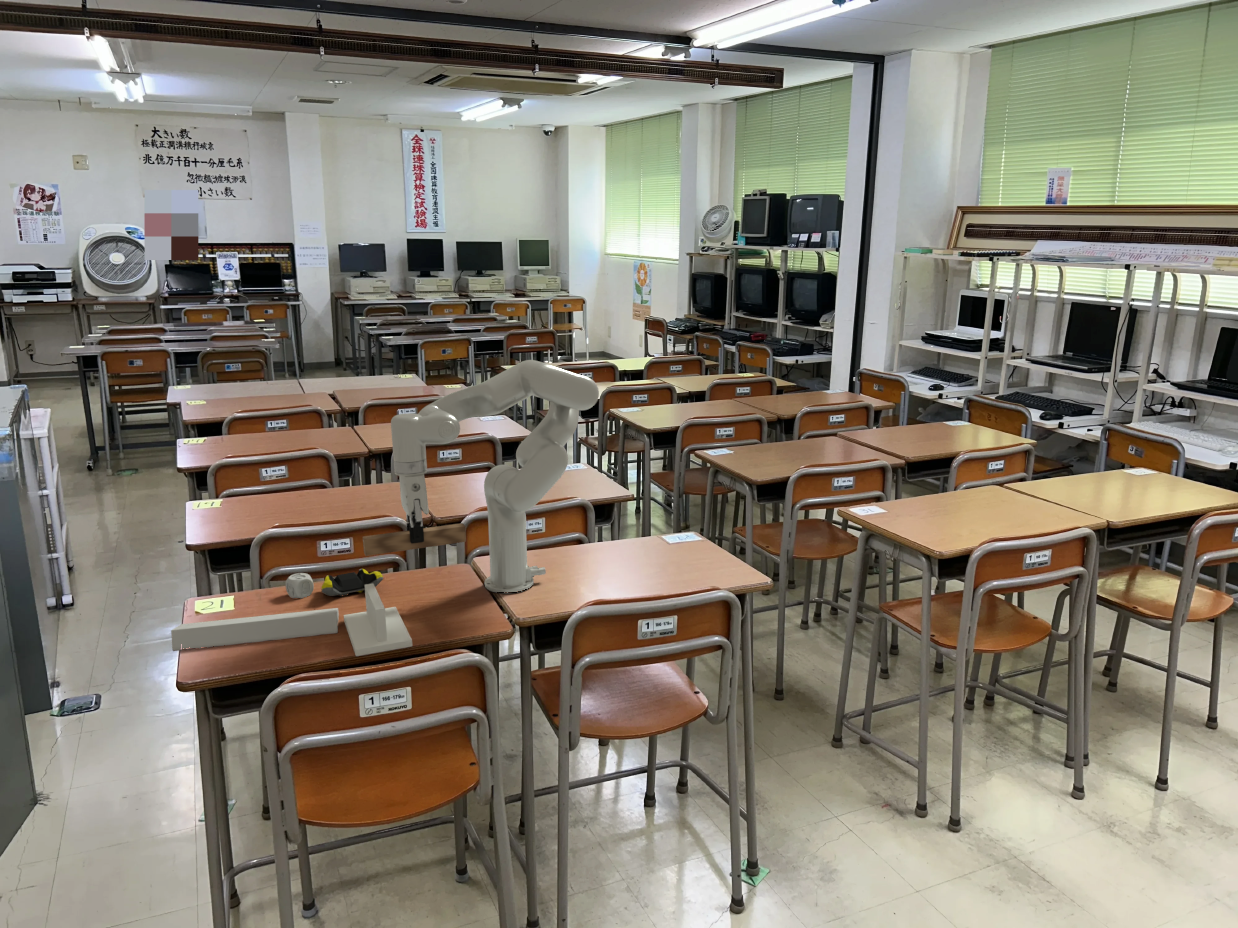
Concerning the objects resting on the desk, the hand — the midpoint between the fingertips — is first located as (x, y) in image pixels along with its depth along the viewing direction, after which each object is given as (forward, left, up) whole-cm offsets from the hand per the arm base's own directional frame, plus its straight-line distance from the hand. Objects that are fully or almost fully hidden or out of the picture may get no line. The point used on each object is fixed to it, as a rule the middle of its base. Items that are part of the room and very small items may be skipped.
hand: (415, 539), depth 212 cm
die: (+26, -18, -17) cm, 36 cm away
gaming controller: (+14, -15, -17) cm, 27 cm away
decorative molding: (+37, +2, -17) cm, 41 cm away
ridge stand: (+12, +13, -17) cm, 24 cm away
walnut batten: (0, 0, -2) cm, 2 cm away
